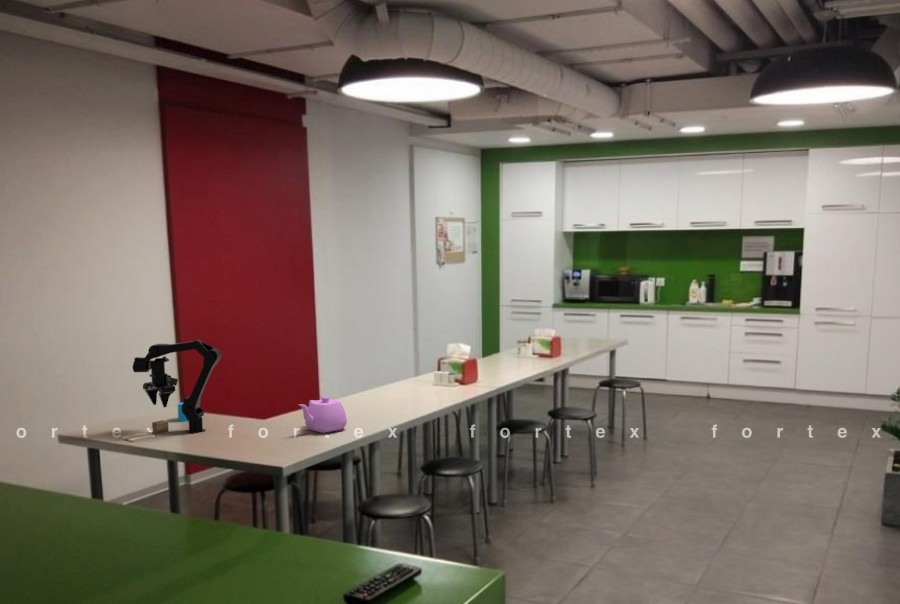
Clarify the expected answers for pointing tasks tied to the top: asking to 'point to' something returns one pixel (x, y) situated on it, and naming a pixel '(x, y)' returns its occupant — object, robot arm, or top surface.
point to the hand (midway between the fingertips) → (159, 406)
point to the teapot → (324, 415)
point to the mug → (181, 414)
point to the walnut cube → (160, 427)
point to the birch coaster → (138, 437)
